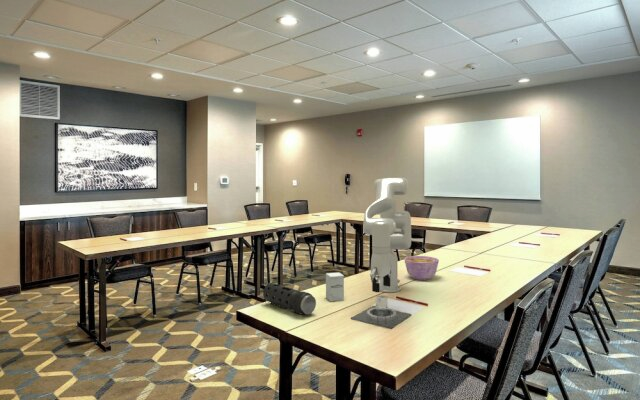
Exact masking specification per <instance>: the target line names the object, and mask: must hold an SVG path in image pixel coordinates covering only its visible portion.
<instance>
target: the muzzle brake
mask: <svg viewBox="0 0 640 400" xmlns="http://www.w3.org/2000/svg"><path fill="white" fill-rule="evenodd" d="M262 296H263V298H264V300H265V301H267V302H269V303H270V302H271V303H272V304H271V303H270V304H271V305H274V304H275V305H274V306H277V307H279V306H280V308H282V307H283V308H284V309H286V310H288V309H289V310H290V311H293V312H296V313H295V314H297V313H299V314H298V315H303V316H304V315H311V314H313V312H314V311H315V309H316V306H317V300H316V298H315V297H314V295H312V294H311V293H309V292H307V291H301V290H298V289H295V288H291V287H288V286H285V285H281V284H278V283H274V282H270V283H268V284H266V286H265V287H264V289H263V295H262ZM283 308H282V309H283ZM287 308H288V309H287Z"/></svg>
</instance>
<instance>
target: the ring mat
mask: <svg viewBox="0 0 640 400" xmlns="http://www.w3.org/2000/svg"><path fill="white" fill-rule="evenodd" d="M411 316H412V313H408V312H404V311H399V310H394V309H392V308H388V307H387V316H386V317H382V316H376V305H372V306H370V307H368V308H366V309H365V310H363V311H360V312H358V313H357V314H355V315H353V316H351V317H350V319H351V320H353V321H357V322H362V323H364V324H369V325H374V326H377V327H382V328H386V329H390V330H392V329H394V328H395V327H397V326H398V325H399V324H401V323H403V322H404V321H405V320H407V319H409V318H410V317H411Z"/></svg>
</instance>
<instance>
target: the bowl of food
mask: <svg viewBox="0 0 640 400" xmlns="http://www.w3.org/2000/svg"><path fill="white" fill-rule="evenodd" d="M439 261H440V260H439V259H438V258H437V257H433V256H429V255H428V256H426V255H409V256H406V257H404V264H405V268H406V271H407V274H408V275H409V276H410V277H411V278H413V279H414V280H416V281H417V280H418V281H427V280H429V279H431V278H433V277H434V276H435V275H436V273H437V269H438V266H439Z"/></svg>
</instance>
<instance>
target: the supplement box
mask: <svg viewBox="0 0 640 400" xmlns="http://www.w3.org/2000/svg"><path fill="white" fill-rule="evenodd" d="M344 279H345V275H344V274H342V273H341V272H326V273H325V298H326V299H327V301H329V302H330V303H331V302H340V301H345V286H344V283H345V280H344Z"/></svg>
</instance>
